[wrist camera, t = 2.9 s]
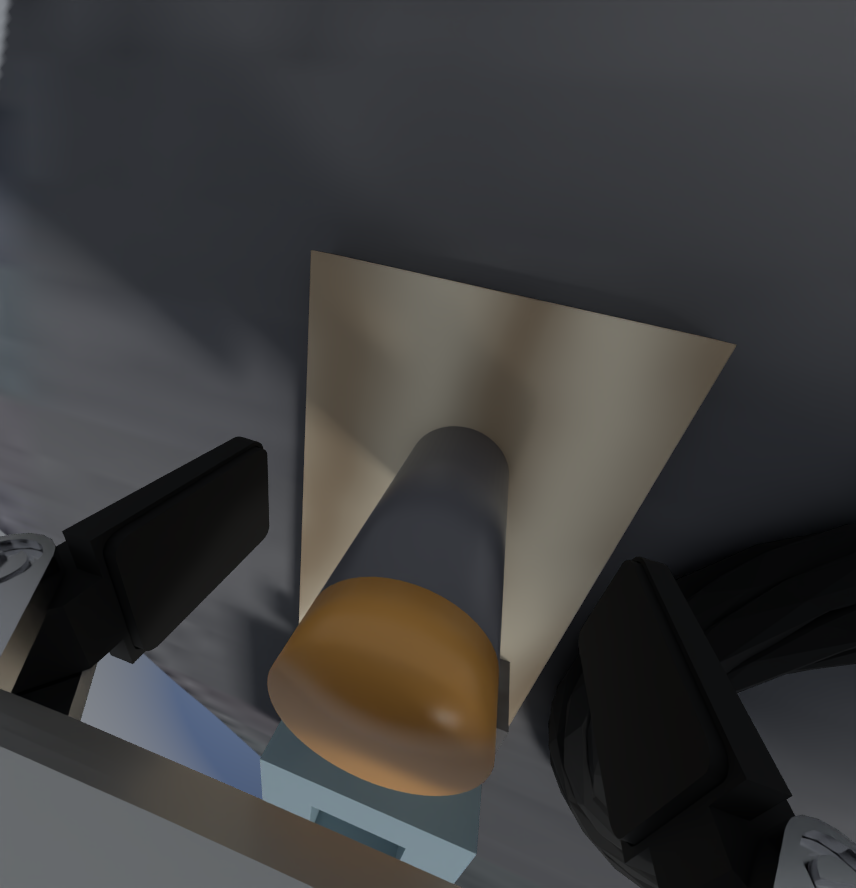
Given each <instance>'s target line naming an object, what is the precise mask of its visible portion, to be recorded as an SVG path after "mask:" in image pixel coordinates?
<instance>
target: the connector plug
mask: <svg viewBox="0 0 856 888" xmlns="http://www.w3.org/2000/svg"><path fill="white" fill-rule="evenodd" d="M508 486H509V469H508V464H507V461H506V458H505V456H504V454H503V452H502V451H501V449H500V448H499V447H498V446H497V445H496V443H495V442H494V441H492V440H491V439H490V438H489V437H487V436H486V435H484V434H483V433H481V432H479V431H476V430H474V429H471V428H466V427H460V426H448V427H442V428H439V429H436V430H433V431H431V432H429V433H428V434H426V435H425V436H424V437H422V438H421V439H420V440H419V441H418V443H417V444H416V445H415V447H414V448H413V450H412V451H411V453H410V455H409V456H408V458H407V459H406V461H405V462H404V464H403V465H402V467H401V468H400V470H399V471H398V473H397V475H396V476H395V478H394V479H393V481H392V482H391V484H390V485H389V487H388V488H387V490H386V491H385V493H384V494H383V496H382V498H381V499H380V501H379V502H378V504H377V505H376V507H375V508H374V510H373V511H372V513H371V514H370V516H369V518H368V519H367V521H366V522H365V524H364V525H363V527H362V528H361V530H360V531H359V533H358V534H357V536H356V537H355V539H354V541H353V542H352V544H351V545H350V547H349V548H348V550H347V551H346V553H345V554H344V556H343V557H342V559H341V561H340V562H339V564H338V565H337V567H336V568H335V570H334V571H333V573H332V574H331V576H330V577H329V579H328V580H327V582H326V584H325V585H324V587H323V588H322V590H321V591H320V593H319V594H318V596H317V597H316V599H315V600H314V602H313V604H312V605H311V607H310V608H309V610H308V611H307V613H306V614H305V616H304V617H303V619H302V620H301V622H300V623H299V625H298V627H297V628H296V630H295V631H294V633H293V634H292V636H291V637H290V639H289V640H288V642H287V643H286V645H285V646H284V648H283V650H282V651H281V653H280V654H279V656H278V657H277V659H276V660H275V662H274V663H273V665H272V667H271V668H270V671H269V674H268V680H267V687H268V693H269V696H270V700H271V702H272V704H273V706H274V708H275V710H276V712H277V714H278V715H279V717H280V718H281V720H282V721H283V722H284V723H285V725H286V726H287V727H288V728H289V729H290V730H291V732H292V733H293V734H294V735H295V736H296V737H297V738H298V739H300V740H301V741H302V742H303V743H304V744H305V745H306V746H308V747H309V748H310V749H311V750H313V751H314V752H315V753H317V754H318V755H319V756H321V757H322V758H324V759H325V760H327V761H328V762H330V763H332V764H333V765H335V766H337V767H338V768H340V769H342V770H344V771H346V772H348V773H350V774H352V775H354V776H356V777H358V778H361V779H363V780H365V781H368V782H371V783H373V784H376V785H379V786H382V787H385V788H388V789H392V790H396V791H400V792H405V793H410V794H416V795H424V796H449V795H455V794H460V793H464V792H467V791H470V790H472V789H474V788H476V787H478V786H479V785H481V784H482V783H483V782H485V780H486V779H487V778H488V777H489V776H490V774H491V772H492V769H493V767H494V761H495V745H496V725H497V705H498V685H499V665H500V646H501V626H502V606H503V586H504V566H505V546H506V526H507V506H508Z"/></svg>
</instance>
